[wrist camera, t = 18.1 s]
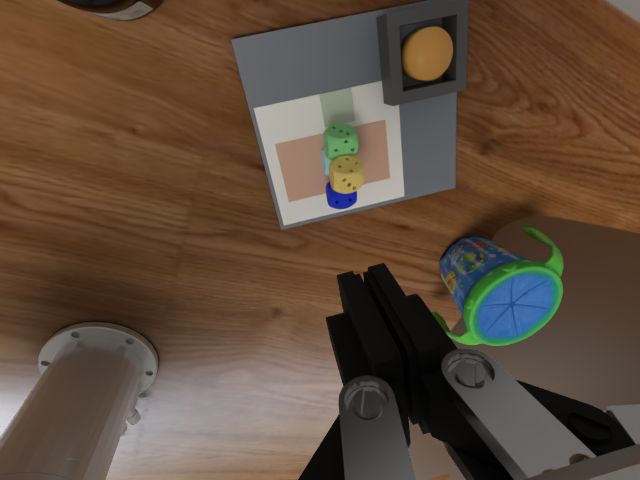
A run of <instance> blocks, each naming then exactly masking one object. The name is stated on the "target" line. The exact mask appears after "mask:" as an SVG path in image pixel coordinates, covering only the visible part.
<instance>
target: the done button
mask: <svg viewBox="0 0 640 480" xmlns="http://www.w3.org/2000/svg"><path fill="white" fill-rule="evenodd" d="M400 49H401V67H402V73H403V74H404V75H405V76H406V77H408V78H410V79H414V80H426V81H429V80H433V79H436V78H438V77H439V76H441V75H442V74H443V73H444V72H445V71H446V69H447V68H448V66H449V64H450V62H451V59H452V55H453V43H452V40H451V37H450V36H449V34H448V33H447V32H446V31H445V30H444V29H442V28H440V27H434V26H433V27H427V28H423V29H418V30H415V31H412V32H411V33H409V34H408V35H407V36H406V37H405V38H404V39H403V41H402V42H401V44H400Z"/></svg>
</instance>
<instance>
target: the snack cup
mask: <svg viewBox="0 0 640 480" xmlns="http://www.w3.org/2000/svg"><path fill="white" fill-rule="evenodd" d="M523 231H524V232H525V233H527V234H528V235H529V236H530V237H532V238H534V239H536V240H538V241H540V242H542V243H544V244H546V245H549V246H551V256H550V258H549V259H548V260H547V261H545V262H536V261H531V260H529V259H526V258H524V257H522V256H520V255H518V254H516V253H514V252H512V251H510V250H508V249H506V248H504V247H502V246H500V245H497V244H495V243H493V242H492V241H490V240H487V239H484V238H480V237H470V238H463V239H460V240H459V241H458V242H457V243H456V244H454V245H453V246H451V247H450V248H449V250H448V251H447V252H446V254H445V256H444V257H443V258H442V259H441V260H440V272H441V277H442V280H443V281H444V283H445V285H446V287H447V288H448V290H449V292H450V294H451V295H452V297H453V299H454V300H455V302H456V304H457V306H458V307H459V309H460V311H461V313H462V316H463V319H464V322H465V324H466V331H465V333H464V334H463V335H459V334H455V333H452V332H450V330H449V328H448V327H447V324H446V322H445V320H444V319H443V317H441V316H440V315H439V314H438V313H436V312H432V314H433V316H434V317H435V318H436V320H437V321H438V322H439V324H440V325H441V327H442V328H443V329H444V331H445V332H446V333H447V335H448V336H449V337H451V338H452V339H454V340H455V341H457V342H460V343H463V344H467V345H477V344H481V343H484V344H488V345H493V346H502V345H508V344H512V343H515V342H518V341H521V340H523V339H525V338H527V337H529V336H531V335H532V334H534V333H535V332H537V331H538V330H539V329H541V328H542V327H543V326H544V325H545V324H546V323H547V322H548V321H549V320H550V318H551V317H552V316H553V315H554V313H555V312H556V310H557V308H558V306H559V304H560V302H561V298H562V293H563V286H562V282H561V280H560V277H561V274H562V270H563V258H562V255H561V252H560V251H559V249H558V248H557V246H556V245H555V244H554V243H553V242H552V241H551V240H550V239H549V238H548V237H547V236H546V235H544V234H543V233H541V232H540V231H538V230H536V229H534V228H532V227H528V226H524V227H523Z"/></svg>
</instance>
